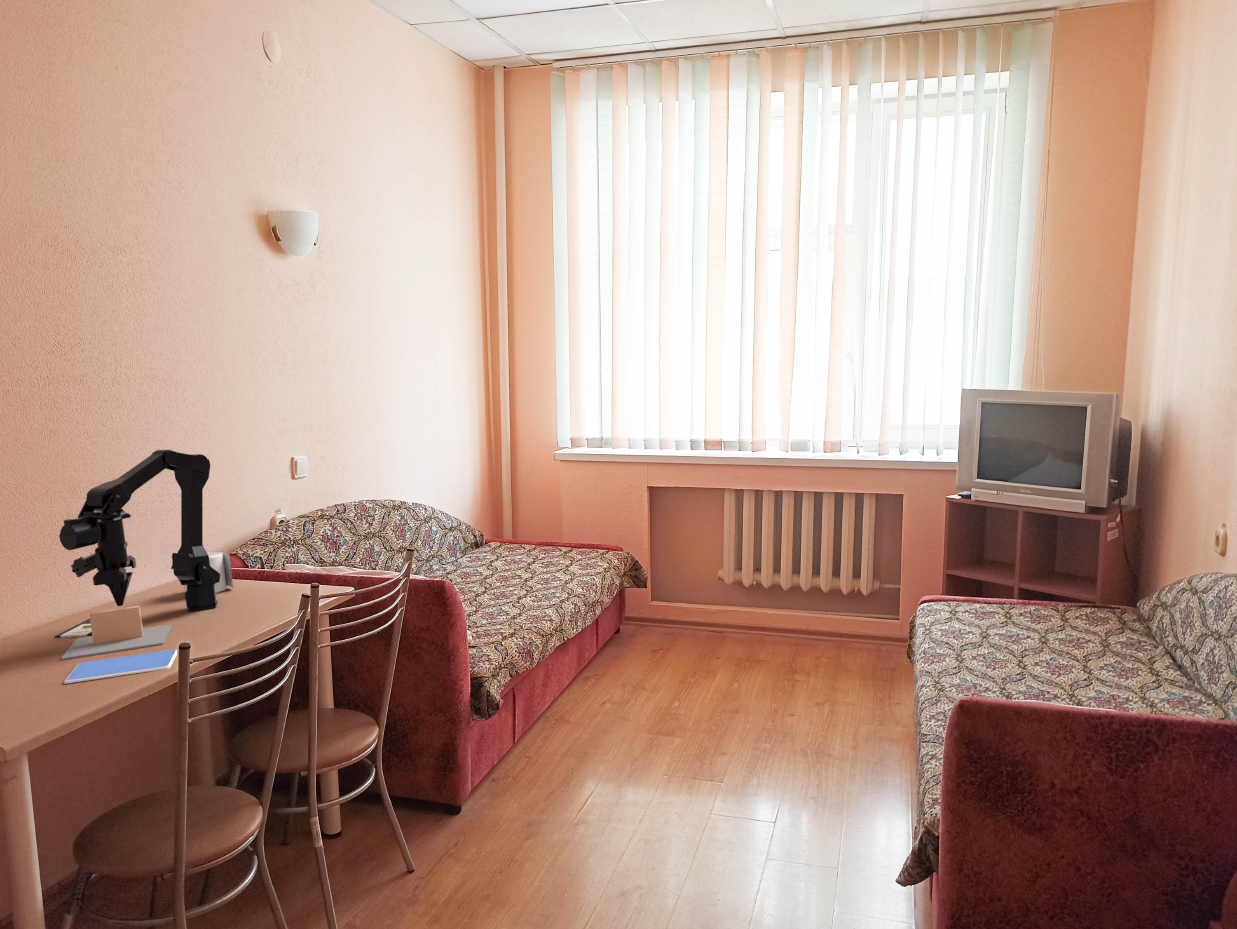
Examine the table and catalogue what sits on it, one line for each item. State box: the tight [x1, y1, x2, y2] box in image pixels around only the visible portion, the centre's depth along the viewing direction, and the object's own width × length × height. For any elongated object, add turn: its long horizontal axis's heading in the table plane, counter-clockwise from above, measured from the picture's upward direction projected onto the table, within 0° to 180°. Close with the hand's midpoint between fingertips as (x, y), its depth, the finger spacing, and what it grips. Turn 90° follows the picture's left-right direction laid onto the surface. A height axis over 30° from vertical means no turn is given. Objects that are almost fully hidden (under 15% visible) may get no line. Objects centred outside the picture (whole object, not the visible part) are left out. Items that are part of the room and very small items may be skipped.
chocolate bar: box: [54, 618, 92, 639], centre depth 224 cm, size 9×1×18 cm
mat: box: [60, 624, 172, 661], centre depth 208 cm, size 20×16×1 cm
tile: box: [88, 605, 144, 644], centre depth 208 cm, size 10×2×7 cm, turn 110°
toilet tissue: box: [183, 551, 234, 594], centre depth 252 cm, size 11×12×10 cm
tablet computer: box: [63, 649, 178, 685], centre depth 189 cm, size 19×13×1 cm, turn 108°
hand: (120, 605), depth 213 cm, fingers closed
